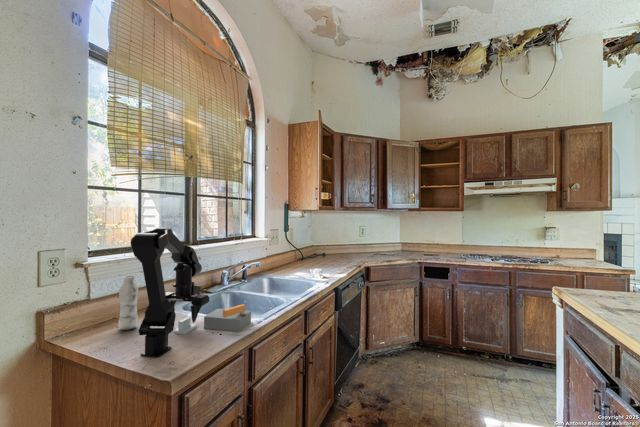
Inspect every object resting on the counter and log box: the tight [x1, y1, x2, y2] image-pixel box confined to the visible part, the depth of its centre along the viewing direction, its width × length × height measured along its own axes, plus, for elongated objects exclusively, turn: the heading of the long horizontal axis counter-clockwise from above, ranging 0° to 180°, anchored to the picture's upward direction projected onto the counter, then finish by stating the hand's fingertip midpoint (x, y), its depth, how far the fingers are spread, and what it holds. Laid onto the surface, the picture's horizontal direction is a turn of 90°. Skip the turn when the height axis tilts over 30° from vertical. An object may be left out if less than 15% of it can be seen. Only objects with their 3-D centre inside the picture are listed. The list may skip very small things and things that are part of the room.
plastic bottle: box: [117, 275, 140, 331], centre depth 112 cm, size 6×7×20 cm
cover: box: [173, 316, 198, 335], centre depth 113 cm, size 7×5×4 cm
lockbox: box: [203, 308, 252, 333], centre depth 118 cm, size 10×15×5 cm, turn 79°
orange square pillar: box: [223, 304, 246, 318], centre depth 114 cm, size 2×9×4 cm, turn 143°
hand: (183, 321), depth 113 cm, fingers open, 9 cm apart
